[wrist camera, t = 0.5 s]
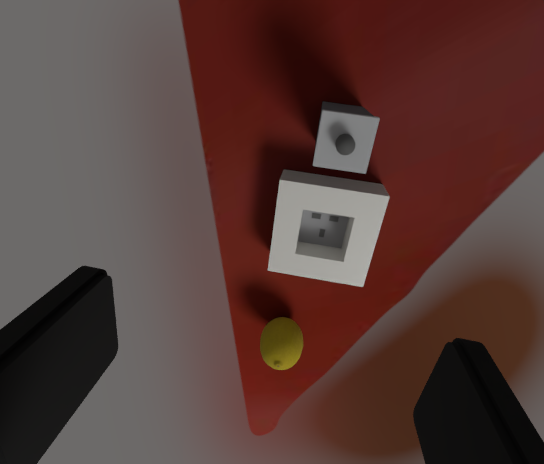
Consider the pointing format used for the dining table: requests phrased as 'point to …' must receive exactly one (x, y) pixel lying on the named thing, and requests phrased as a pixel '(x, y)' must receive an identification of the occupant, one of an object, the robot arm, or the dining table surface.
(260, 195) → the dining table surface
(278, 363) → the lemon
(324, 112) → the plug
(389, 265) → the dining table surface
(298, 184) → the socket
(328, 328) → the dining table surface
